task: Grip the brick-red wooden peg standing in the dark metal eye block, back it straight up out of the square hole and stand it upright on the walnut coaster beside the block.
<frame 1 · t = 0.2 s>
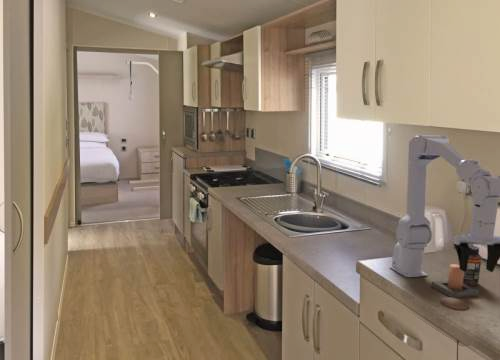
hand: (476, 270, 134), 10 cm above the worktop, fingers open, 7 cm apart
eye block: (454, 291, 146), on the worktop
peg: (455, 278, 145), in the eye block
coaster: (454, 304, 136), on the worktop
supplement bottle: (467, 283, 154), on the worktop
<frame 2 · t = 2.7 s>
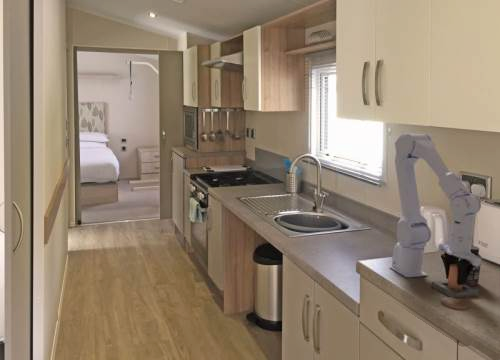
hand: (455, 281, 145), 3 cm above the worktop, fingers closed on peg, 4 cm apart
peg: (455, 278, 145), in the eye block, touching gripper
everything else where it was.
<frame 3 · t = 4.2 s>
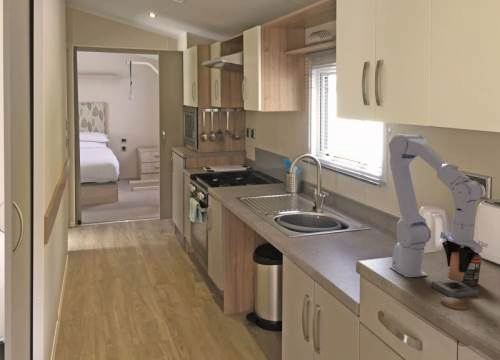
hand: (456, 269, 145), 7 cm above the worktop, fingers closed on peg, 4 cm apart
peg: (457, 266, 145), point 8 cm above the worktop, touching gripper
everything else where it was.
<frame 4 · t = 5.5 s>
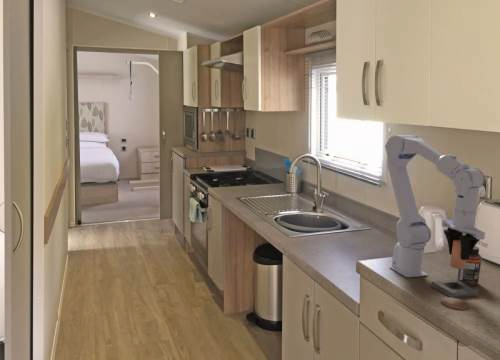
hand: (458, 256, 144), 10 cm above the worktop, fingers closed on peg, 4 cm apart
peg: (459, 254, 144), point 11 cm above the worktop, touching gripper
everything else where it was.
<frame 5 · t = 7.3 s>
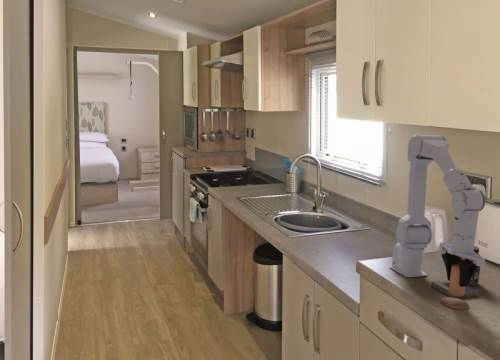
hand: (457, 283, 135), 6 cm above the worktop, fingers closed on peg, 4 cm apart
peg: (457, 280, 135), point 7 cm above the worktop, touching gripper
everything else where it was.
when the fingers open (4 cm above the worktop, at t = 8.5 s): peg stays where it is, resting on coaster.
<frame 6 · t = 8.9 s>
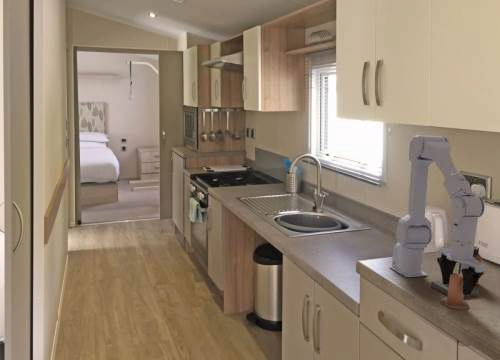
hand: (456, 288, 135), 4 cm above the worktop, fingers open, 7 cm apart
peg: (456, 289, 135), on the coaster
everything else where it was.
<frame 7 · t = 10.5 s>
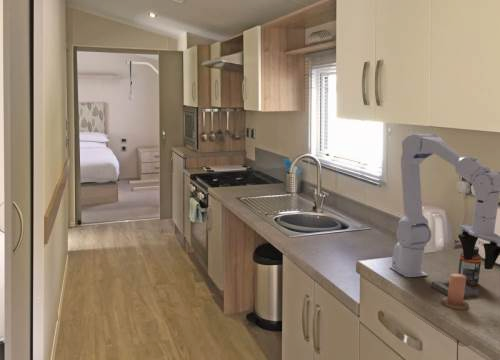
hand: (477, 264, 138), 10 cm above the worktop, fingers open, 7 cm apart
nothing on the worktop moved.
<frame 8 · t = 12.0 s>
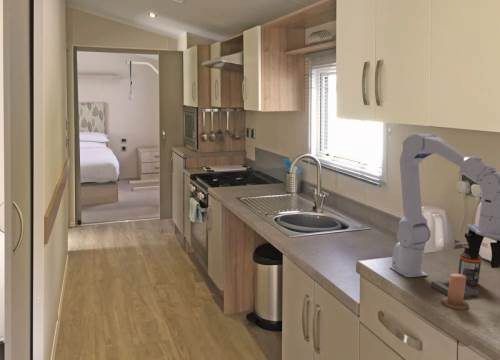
hand: (484, 262, 140), 10 cm above the worktop, fingers open, 7 cm apart
nothing on the worktop moved.
at the end: peg 0.1 cm off-centre on the coaster, point 4.3 cm above the coaster's base; peg tilted 0°; the gripper is holding nothing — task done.
